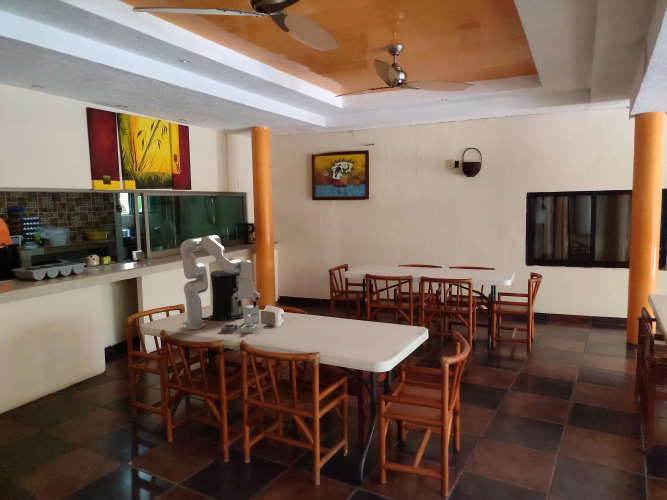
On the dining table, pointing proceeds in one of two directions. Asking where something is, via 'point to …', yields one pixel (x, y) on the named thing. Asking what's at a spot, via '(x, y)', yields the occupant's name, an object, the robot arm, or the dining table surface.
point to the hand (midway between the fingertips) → (247, 307)
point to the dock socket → (249, 329)
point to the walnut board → (233, 329)
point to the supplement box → (252, 313)
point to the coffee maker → (225, 296)
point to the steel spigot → (248, 320)
